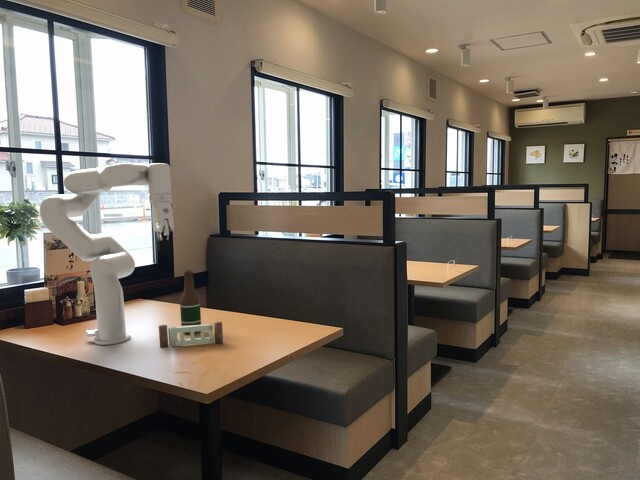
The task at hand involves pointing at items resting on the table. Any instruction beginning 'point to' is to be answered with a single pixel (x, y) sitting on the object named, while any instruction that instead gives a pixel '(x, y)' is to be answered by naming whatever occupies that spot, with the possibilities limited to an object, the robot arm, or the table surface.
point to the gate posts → (164, 335)
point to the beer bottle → (190, 303)
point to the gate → (193, 340)
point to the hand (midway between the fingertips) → (163, 251)
